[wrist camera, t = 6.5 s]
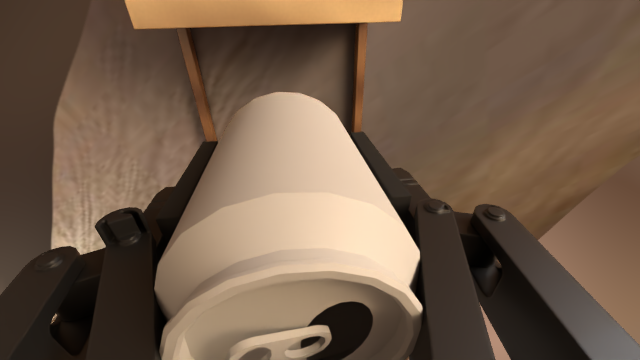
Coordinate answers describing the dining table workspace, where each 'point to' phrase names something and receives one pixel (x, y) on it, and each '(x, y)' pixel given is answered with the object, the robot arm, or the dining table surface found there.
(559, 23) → the dining table surface
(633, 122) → the dining table surface
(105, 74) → the dining table surface
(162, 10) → the step shelf
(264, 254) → the can
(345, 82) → the dining table surface
